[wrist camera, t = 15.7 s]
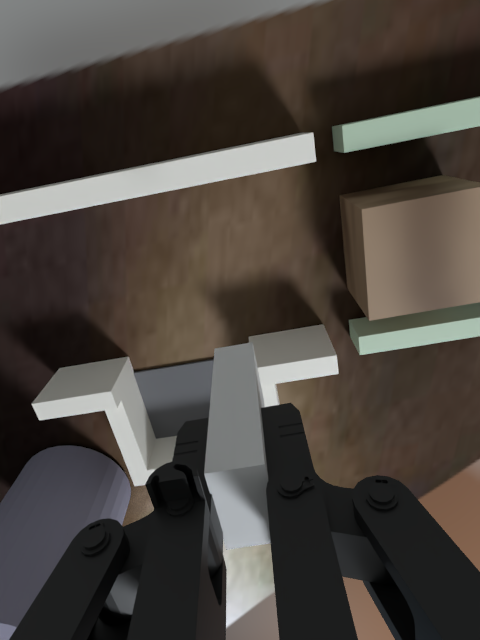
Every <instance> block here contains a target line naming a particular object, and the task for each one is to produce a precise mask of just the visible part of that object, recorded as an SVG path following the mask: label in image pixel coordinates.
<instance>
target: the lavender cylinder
mask: <svg viewBox="0 0 480 640" xmlns="http://www.w3.org/2000/svg"><path fill="white" fill-rule="evenodd" d="M130 497H131V488H130V484H129V480H128V478H127V476H126V474H125V473H124V471H123V470H122V469H121V468H120V467H119V466H118V465H117V464H116V463H115V462H114V461H113V460H112V459H110V458H108V457H107V456H105V455H103V454H102V453H99V452H97V451H95V450H92V449H89V448H85V447H81V446H71V445H67V446H56V447H51V448H47V449H45V450H43V451H40V452H39V453H37V454H36V455H34V456H33V457H32V458H31V459H30V460H29V461H28V462H27V463H26V465H25V466H24V468H23V469H22V471H21V473H20V474H19V476H18V477H17V479H16V480H15V482H14V483H13V485H12V486H11V488H10V489H9V491H8V492H7V494H6V495H5V497H4V498H3V500H2V502H1V503H0V640H9V639H10V637H11V636H12V634H13V633H14V631H15V630H16V628H17V626H18V625H19V623H20V622H21V620H22V619H23V617H24V615H25V614H26V612H27V611H28V609H29V608H30V606H31V604H32V603H33V601H34V600H35V598H36V597H37V595H38V593H39V592H40V590H41V589H42V587H43V586H44V584H45V582H46V581H47V579H48V578H49V576H50V575H51V573H52V571H53V570H54V568H55V567H56V565H57V564H58V562H59V560H60V559H61V557H62V556H63V554H64V553H65V551H66V549H67V548H68V546H69V545H70V543H71V542H72V540H73V539H74V538H75V536H76V535H77V534H78V533H79V532H80V531H81V530H82V529H83V528H85V527H86V526H87V525H89V524H90V523H93V522H95V521H97V520H100V519H107V518H111V519H114V520H117V521H118V522H119V523H120V524H121V525H122V523H123V520H124V517H125V513H126V510H127V507H128V504H129V500H130Z"/></svg>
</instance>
